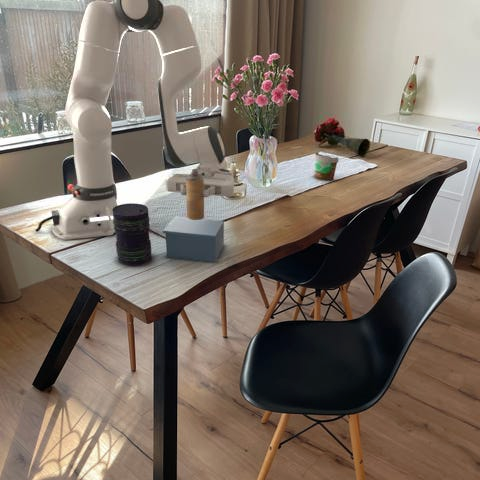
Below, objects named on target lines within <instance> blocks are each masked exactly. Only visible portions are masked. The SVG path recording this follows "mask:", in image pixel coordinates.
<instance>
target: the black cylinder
mask: <svg viewBox="0 0 480 480" xmlns="http://www.w3.org/2000/svg"><path fill="white" fill-rule="evenodd" d="M112 211H113V223H114V230H115V239H116V241H115V246H116V247H115V249H116V251H115V252H116V255H117V262H118V263H119V264H121V265H122V266H126V267H139V266H144V265H147V264H149V263H150V262H151V261H152V259H153V257H152V241H151V239H150V225H151V224H150V216H149V215H150V214H149V208H148V206H147V205H144V204H141V203H133V202H132V203H131V202H130V203H122V204H117V206H116V207H114V208H113V209H112Z"/></svg>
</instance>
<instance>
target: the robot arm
mask: <svg viewBox="0 0 480 480" xmlns="http://www.w3.org/2000/svg"><path fill="white" fill-rule="evenodd" d="M86 6H87V7H86V9H85V11H84V15H83V18H82V21H81V25H80V30H79V35H78V40H77V41H78V42H77V48H76V55H75V61H74V68H73V73H72V77H71V81H70V85H69V89H68V93H67V99H66V103H65V107H64V117H65V120H66V123H67V124H68V126H69V127H70V128H71V133H72V135H73V136H72V138H73V161H74V168H75V174H76V175H75V176H76V181H77V183H76V184H75V185H74V184H73V183H69V184H68V185H67V189H68V190H69V191H70V192H71V193H72V197H71V198H70V199H69V200H68V201H67V202H65V204H64V205H62V206H61V207H60V208H59V210H58V209H55V210H51V211H50V212H51V216H49V217H46V218H44V219H43V220H41V221H40V222H39V223H38V227H37V228H35V229H34V230H35V232H40V231H41V229H42V227H43V225H44V224H46V223H47V222H49V221H51V220H52V223H53V224H52V226H51V231H52V233H53V234H54V236H55V237H57V238H58V239H61V240H64V241H67V240H77V239H85V238H86V239H89V238H97V237H109V236H112V235H114V234H115V233H116V231H115V230H114V223H113V211H112V209H113V208H114V207H116V206H118V202H117V201H118V193H117V192H118V191H117V187H116V186H117V185H116V182H115V181H114V171H113V162H112V145H113V144H112V142H113V141H112V140H113V139H112V129H113V124H112V118H111V116H110V114H109V112H108V110H107V108H106V105H107V101H108V99H109V95H110V92H111V90H112V87H113V86H114V84H115V80H116V73H117V68H118V63H119V56H120V54H119V53H120V49H121V43H122V40H123V37H124V35H125V33H143V32H150V34H152V35H153V36H154V38H155V40H156V43H157V46H158V49H159V54H160V56H161V62H162V71H161V76H160V77H159V78H158V79H157V97H158V98H157V99H158V107H159V114H160V121H161V128H162V129H161V130H162V137H163V140H162V141H163V153H164V157H165V160H166V162H167V163H169V164H170V165H172V166H173V167H175V168H177V169H180V168H183V167H187V166H190V165H192V164H196V163H199V164H198V165H197V166H196V167H195V169H196V170H197V171H198V174H201V175H202V178H203V179H204V190H203V197H204V198H209V197H210V196H211V197H212V196H217V197H227V198H229V197H233V196H234V195H235V176H234V175H235V174H234V171H233V170H229V169H228V164H227V160H226V156H227V151H226V144H225V141H224V138H223V136H222V134H221V132H219V131H218V130H217V128H215V127H214V126H211V125H208V126H207V125H206V126H203V127H198V128H195V129H191V130H187V131H183V132H179V130H178V120H177V112H176V100H177V98H178V96H179V95H180V94H181V93H182V92H183V91H185V90H186V89H187V88H188V87H189V86H190V85H192V84H193V83H194V82H195V81H196V80H197V79H198V77H199V76H200V73H201V71H202V66H203V63H202V62H203V61H202V56H201V50H200V45H199V42H198V39H197V36H196V33H195V29H194V27H193V24H192V21H191V19H190V17H189V14H188V12H187V11H186V9H185V8H184V7H182V6H180V5H176V4H169V5H164V4H163V3H162V1H161V0H114V1H112V2H109V1H105V0H93V1H91V2H90V3H88V5H86ZM189 174H190V173H189ZM189 174H188V173H174V174H171V175H170V176H168V177H167V178H166V179H165V190H166V191H167V192H171V193H180V195H181V196H186V178H187V176H188V175H189Z"/></svg>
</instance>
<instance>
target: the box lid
mask: <svg viewBox="0 0 480 480" xmlns="http://www.w3.org/2000/svg"><path fill="white" fill-rule="evenodd" d="M223 224H224V225H225V220H220V219H208V218H203V219H200V220H191V219H188V218H187V216H177V215H175V216H174V217H173V218H172V219H171V220H170V221H169V223H168V224H167V225H166V226H165V227H164V228H163V230H162V234H165V235H166V234H175V235H185V236H195V237H205V238H216V237H217V235H218V233H219V231H220V229H221V228H222V226H223Z"/></svg>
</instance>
